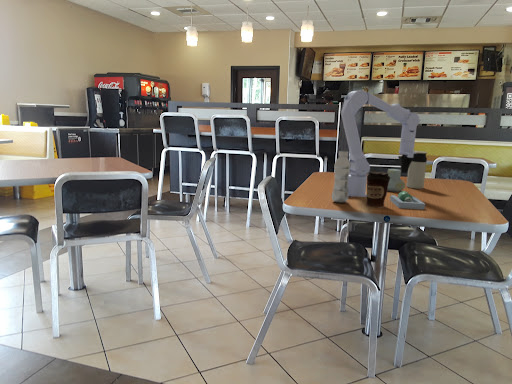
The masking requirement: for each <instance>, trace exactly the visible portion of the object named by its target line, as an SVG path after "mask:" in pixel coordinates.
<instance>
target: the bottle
mask: <svg viewBox="0 0 512 384" xmlns="http://www.w3.org/2000/svg"><path fill="white" fill-rule="evenodd" d="M412 196H413V195H411V193H409V192H407V191H405V190H401V191H399V192H398V194H397V197H398V198H399V199H400V200H401V201H403V202H412V201H413V197H414V196H413V197H412Z"/></svg>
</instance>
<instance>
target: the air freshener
mask: <svg viewBox="0 0 512 384" xmlns="http://www.w3.org/2000/svg"><path fill="white" fill-rule="evenodd" d="M387 173H389V174H388V176H390V181H389V183H388V189H387V192H392V193H400V192H402V191H404V189H405V188H406V183H405V181H404V180H403V179H401V174H402V172H401V169H397V168H396V169H395V168H388V169H387Z"/></svg>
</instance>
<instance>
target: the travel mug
mask: <svg viewBox="0 0 512 384" xmlns="http://www.w3.org/2000/svg"><path fill="white" fill-rule="evenodd" d="M414 152H416V154H414V155H413V158H414V159H413V160H412V162H411V164H410V166H409V169H408V172H407V178H406V184H405V187H407V188H408V189H413V190H419V189H420V190H422V189H424V187H425V179H426V178H425V177H426V171H427V170H426V169H427V161H428V158H427V153H428V152H427V151H422V150H421V151H420V150H414Z"/></svg>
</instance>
